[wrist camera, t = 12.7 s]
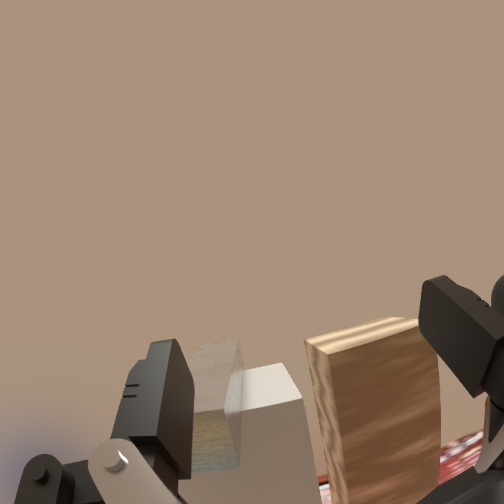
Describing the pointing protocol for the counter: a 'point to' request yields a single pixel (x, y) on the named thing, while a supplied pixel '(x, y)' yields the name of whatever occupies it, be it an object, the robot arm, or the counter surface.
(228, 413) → the wooden block
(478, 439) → the counter surface
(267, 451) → the block
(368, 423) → the walnut stand
